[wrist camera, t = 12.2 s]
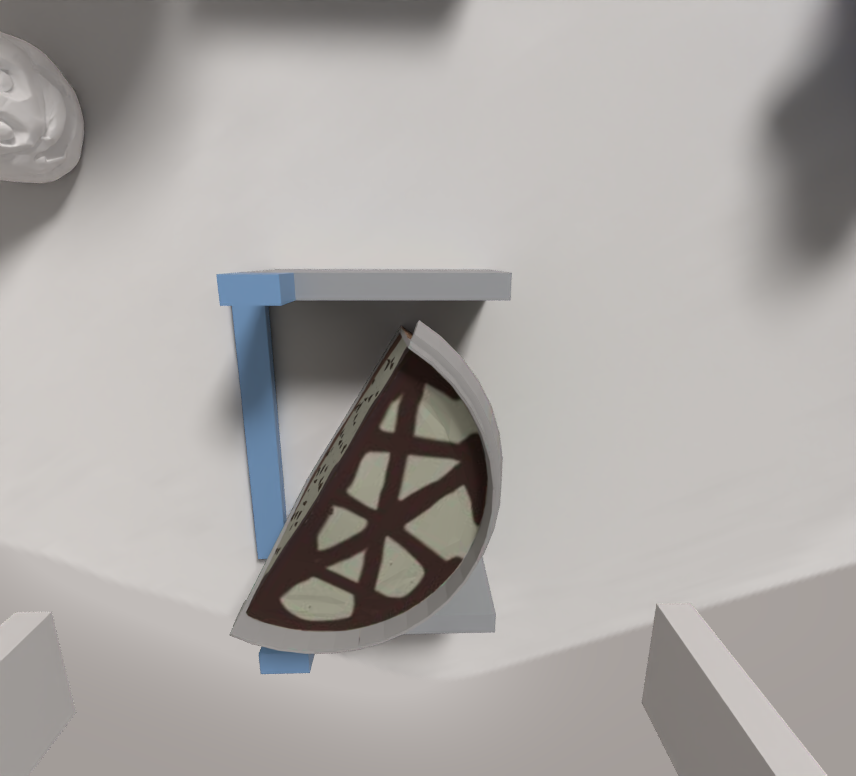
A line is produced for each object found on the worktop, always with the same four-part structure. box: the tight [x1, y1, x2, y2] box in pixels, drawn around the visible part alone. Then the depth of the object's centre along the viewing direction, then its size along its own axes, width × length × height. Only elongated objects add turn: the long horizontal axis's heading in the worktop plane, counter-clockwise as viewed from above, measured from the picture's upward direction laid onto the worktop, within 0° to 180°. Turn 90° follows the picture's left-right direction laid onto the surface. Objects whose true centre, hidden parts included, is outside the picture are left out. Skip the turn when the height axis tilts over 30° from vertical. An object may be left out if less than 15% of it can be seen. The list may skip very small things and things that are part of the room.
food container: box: [230, 320, 503, 654], centre depth 20 cm, size 12×6×10 cm, turn 148°
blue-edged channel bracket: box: [217, 269, 512, 674], centre depth 19 cm, size 12×31×7 cm, turn 0°
